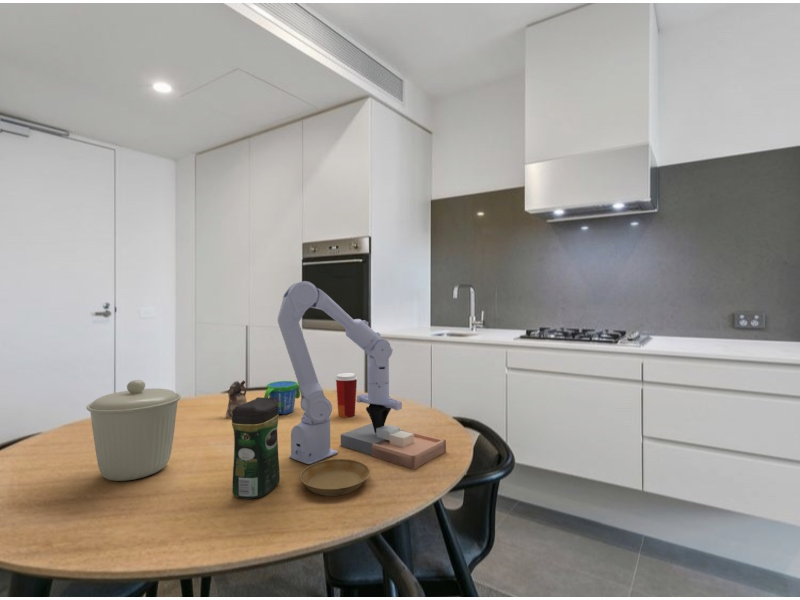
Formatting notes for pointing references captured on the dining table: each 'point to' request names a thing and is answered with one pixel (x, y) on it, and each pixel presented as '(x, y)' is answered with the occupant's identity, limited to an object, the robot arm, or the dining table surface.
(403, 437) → the cream tile
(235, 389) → the figurine
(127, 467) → the canister
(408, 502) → the dining table surface
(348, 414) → the paper cup
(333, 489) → the plant saucer
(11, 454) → the dining table surface
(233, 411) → the coffee jar
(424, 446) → the terracotta tray
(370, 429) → the charcoal board
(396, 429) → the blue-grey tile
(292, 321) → the robot arm
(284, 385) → the snack cup
